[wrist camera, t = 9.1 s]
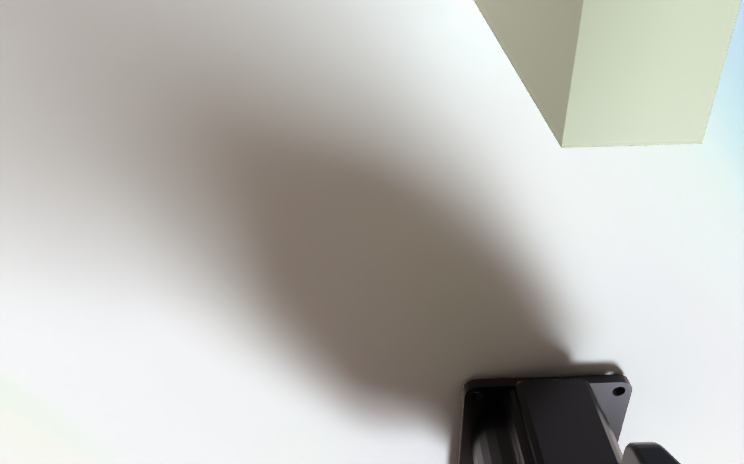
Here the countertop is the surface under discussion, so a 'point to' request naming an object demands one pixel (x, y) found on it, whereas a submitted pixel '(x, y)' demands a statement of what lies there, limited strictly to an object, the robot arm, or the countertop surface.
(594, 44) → the green block
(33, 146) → the countertop surface
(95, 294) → the countertop surface
